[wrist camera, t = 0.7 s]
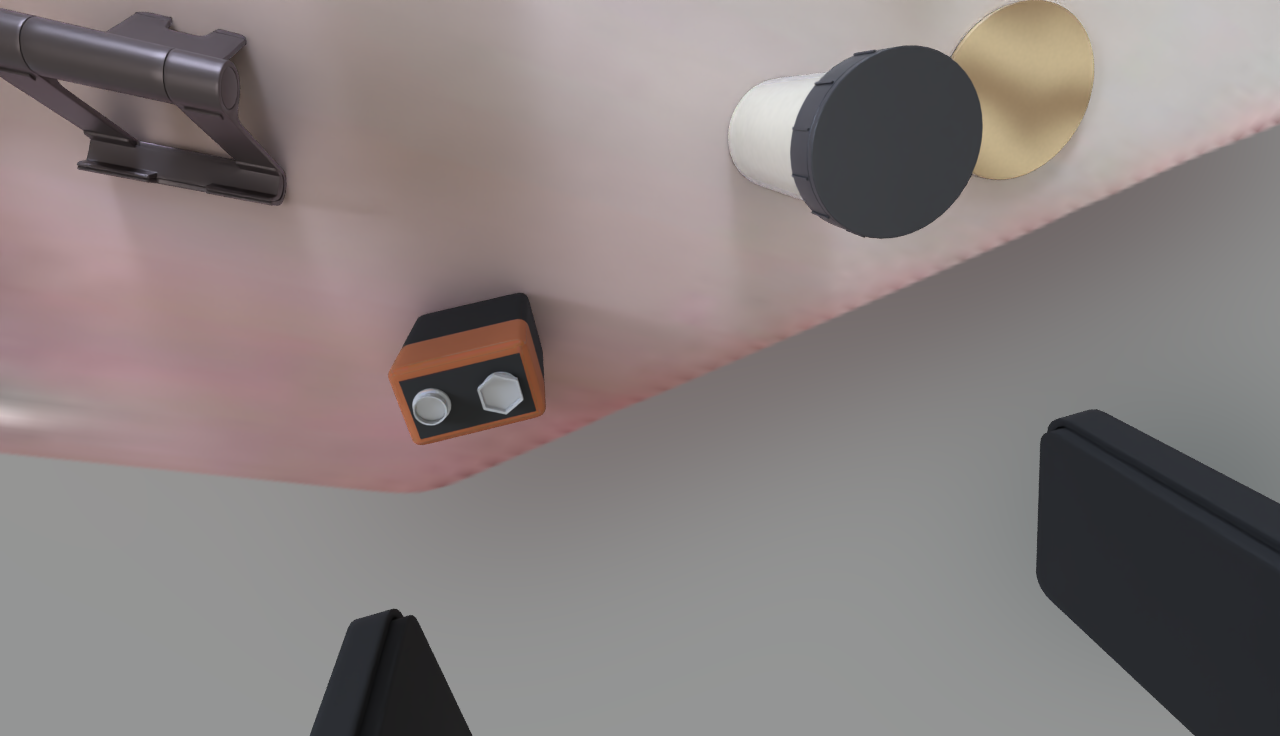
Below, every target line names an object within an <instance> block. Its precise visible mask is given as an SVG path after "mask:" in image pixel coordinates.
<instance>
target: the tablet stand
mask: <svg viewBox="0 0 1280 736" xmlns="http://www.w3.org/2000/svg"><path fill="white" fill-rule="evenodd" d="M171 24H172V18H170V17H166V16H162V15H158V14H154V13H149V12H136V13H135V14H134V15H132V16H131V17H129V18H128V19H126V20H124V21H123V22H121V23H120V24H118V25H116V26H115V27H113V28H111V29H110V30H108V31H106V32H103V31H98V30H94V29H90V28H85V27H81V26H77V25H72V24H68V23H64V22H59V21H55V20H51V19H46V18H42V17H38V16H33V15H29V14H25V13H20V12H16V11H12V10H7V9H3V8H0V77H2V78H3V79H5V80H6V81H8V82H9V83H11V84H12V85H14V86H15V87H17V88H18V89H20V90H22V91H23V92H25V93H26V94H28V95H29V96H31V97H32V98H34V99H35V100H37V101H39V102H40V103H42V104H43V105H45V106H46V107H48V108H49V109H51V110H53V111H54V112H56V113H57V114H59V115H60V116H62V117H63V118H65V119H66V120H68V121H70V122H71V123H73V124H74V125H76V126H77V127H79V128H80V129H82V130H84V134H85V135H86V136H88V137H89V138H90V139H91V141H90V146H89V151H88V156H87V160H84V161H79V162H78V163H77V165H78V168H77V169H79V170H85V171H90V172H95V173H101V174H106V175H111V176H117V177H122V178H128V179H133V180H138V181H144V182H151V183H159V184H164V185H169V186H175V187H180V188H186V189H191V190H196V191H202V192H206V193H208V194H213V195H219V196H224V197H229V198H235V199H240V200H245V201H251V202H256V203H261V204H267V205H276V206H278V205H280V204H281V203H282V202H283V199H284V196H285V192H286V176H285V172H284V170H283V169H282V168H281V167H280V166H279V165H278V164H277V163H276V162H275V160H274V159H273V158H272V157H271V156H270V155H269V154H268V153H267V152H266V151H265V150H264V148H263V147H262V146H261V145H260V144H259V143H258V142H257V141H256V140H255V139H254V138H253V137H252V135H251V134H250V133H249V132H248V131H247V130H246V129H245V128H244V127H243V126H242V124H241V123H240V121H239V119H238V104H239V97H240V80H239V74H238V71H237V68H236V66H235V65H234V63H233V62H231V61H229V59H230V58H231V57H232V56H233V55H234V54H236V53H237V52H238V51H239V50H240V49H241V48H242V47H243V46H244V45H246V38H245V37H244V36H243V35H240V34H237V33H233V32H229V31H225V30H221V29H218V30H215V31H213V32H212V33H210V34H208V35H206V36H196V35H192V34H188V33H183V32H179V31H175V30H171V29H168V28H169V27H170V25H171ZM57 79H59V80H63V81H68V82H73V83H77V84H82V85H87V86H91V87H96V88H101V89H106V90H110V91H115V92H120V93H124V94H129V95H134V96H138V97H143V98H148V99H153V100H157V101H162V102H167V103H171V104H176V105H177V106H178V107H179V108H180V109H181V110H182V111H183V112H184V113H185V114H186V115H187V116H188V117H189V118H190V119H191V120H192V121H193V122H194V123H196V124H197V125H198V126H199V127H200V128H201V129H202V130H203V131H204V132H205V133H206V134H208V135H209V136H210V137H211V138H212V139H213V140H214V141H215V142H216V143H217V144H218V145H220V146H221V147H222V148H223V149H224V150H225V151H226V152H227V153H228V154H229V155H230V156H231V157H233V158H234V159H235V160H232V159H227V158H222V157H217V156H212V155H207V154H202V153H197V152H192V151H187V150H182V149H177V148H172V147H167V146H162V145H157V144H152V143H146V142H142V141H138V140H136V139H135V138H134V137H132V136H131V135H129V134H128V133H127V132H125V131H124V130H122V129H121V128H120V127H118V126H117V125H116V124H114V123H113V122H111V121H110V120H109V119H107V118H106V117H104V116H103V115H102V114H100V113H99V112H97V111H96V110H95V109H93V108H92V107H90V106H89V105H88V104H86V103H85V102H83V101H82V100H81V99H79V98H78V97H76V96H75V95H74V94H72V93H71V92H70V91H68V90H67V89H65V88H64V87H63V86H62V85H61V84H60V83H59V82H58V80H57Z"/></svg>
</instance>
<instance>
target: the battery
mask: <svg viewBox="0 0 1280 736" xmlns="http://www.w3.org/2000/svg"><path fill="white" fill-rule="evenodd" d="M388 377H389V381H390V383H391V386H392V388H393V391H394V394H395V396H396V399H397V401H398V404H399V407H400V409H401V412H402V414H403V417H404V420H405V422H406V425H407V427H408V430H409V432H410V435H411V438H412V440H413V442H414V443H416V444H418V445H425V444H430V443H434V442H438V441H442V440H446V439H450V438H454V437H458V436H462V435H467V434H471V433H475V432H479V431H483V430H487V429H491V428H495V427H499V426H503V425H507V424H511V423H515V422H519V421H523V420H527V419H531V418H535V417H538V416H541V415H542V414H543V413H544V411H545V408H546V404H545V386H544V367H543V351H542V347H541V343H540V340H539V336H538V332H537V329H536V325H535V321H534V318H533V314H532V311H531V307H530V303H529V300H528V297H527V296H526V295H525V294H523V293H517V294H512V295H507V296H503V297H499V298H494V299H490V300H486V301H482V302H477V303H473V304H469V305H464V306H460V307H456V308H451V309H447V310H443V311H438V312H434V313H430V314H426V315H423V316H420V317H419V318H418V319H417V321H416V322H415V324H414V326H413V328H412V330H411V332H410V334H409V336H408V337H407V339H406V341H405V343H404V345H403V347H402V349H401V351H400V352H399V354H398V356H397V358H396V360H395V362H394V364H393V365H392V367H391V369H390V371H389V374H388Z"/></svg>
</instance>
